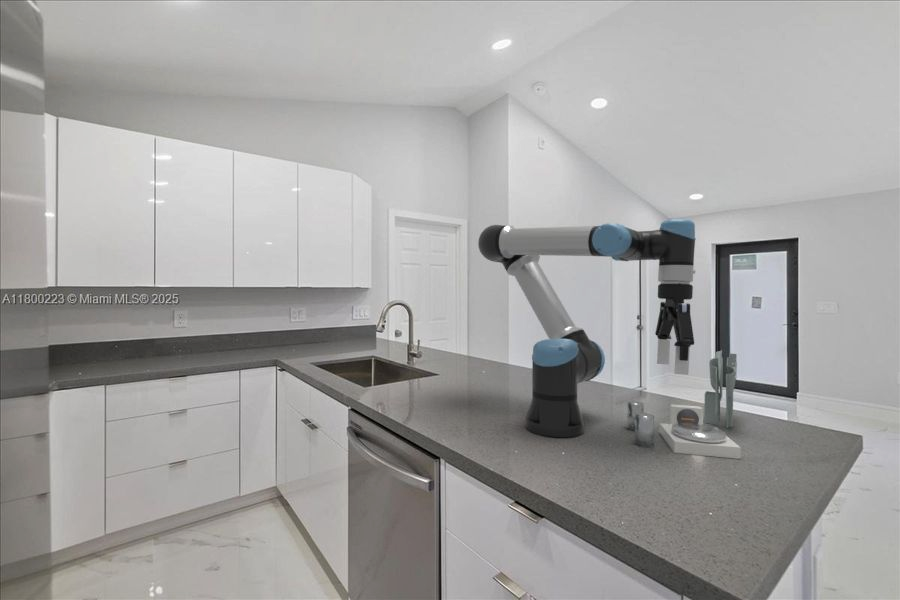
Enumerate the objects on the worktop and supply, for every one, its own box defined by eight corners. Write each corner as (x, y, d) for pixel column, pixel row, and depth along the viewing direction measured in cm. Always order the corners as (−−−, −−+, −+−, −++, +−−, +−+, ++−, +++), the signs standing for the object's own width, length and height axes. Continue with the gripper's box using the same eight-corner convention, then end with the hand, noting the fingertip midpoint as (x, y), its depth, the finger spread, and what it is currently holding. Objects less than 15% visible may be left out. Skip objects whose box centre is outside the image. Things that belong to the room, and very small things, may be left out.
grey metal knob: (636, 446, 95) (637, 416, 95) (633, 440, 99) (634, 412, 99) (655, 448, 94) (655, 418, 94) (651, 442, 98) (652, 413, 98)
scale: (674, 452, 92) (674, 421, 91) (657, 429, 107) (657, 403, 107) (740, 459, 88) (741, 427, 88) (712, 434, 104) (713, 407, 104)
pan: (678, 440, 92) (679, 435, 92) (666, 425, 102) (666, 421, 102) (734, 445, 89) (734, 440, 89) (715, 429, 100) (715, 425, 100)
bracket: (733, 439, 101) (734, 359, 101) (699, 433, 105) (700, 356, 105) (736, 414, 123) (737, 348, 123) (709, 410, 127) (709, 346, 127)
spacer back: (628, 430, 107) (628, 403, 107) (625, 425, 111) (626, 400, 111) (644, 431, 106) (645, 405, 106) (641, 427, 110) (642, 401, 110)
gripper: (714, 282, 87) (709, 380, 88) (674, 284, 111) (671, 361, 112) (676, 281, 89) (671, 378, 89) (645, 283, 113) (642, 359, 113)
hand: (671, 368), depth 101 cm, fingers open, 13 cm apart
